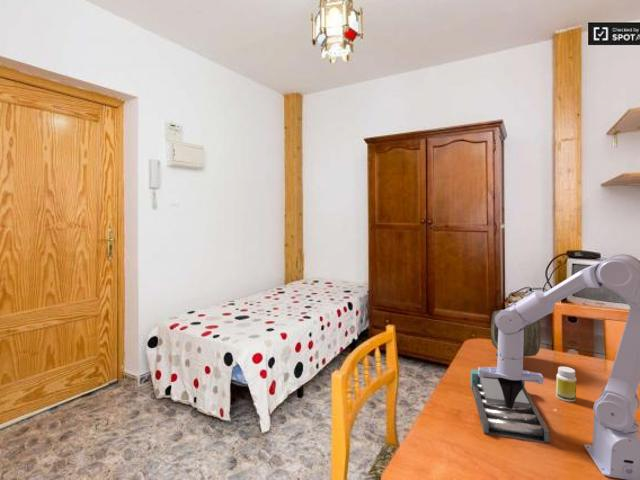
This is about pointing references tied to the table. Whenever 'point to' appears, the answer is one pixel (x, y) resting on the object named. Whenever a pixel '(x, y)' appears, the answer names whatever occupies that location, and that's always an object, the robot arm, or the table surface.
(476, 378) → the end stop
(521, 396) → the slab
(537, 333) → the tabletop clock
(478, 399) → the roller bed
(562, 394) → the supplement bottle
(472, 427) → the table surface
